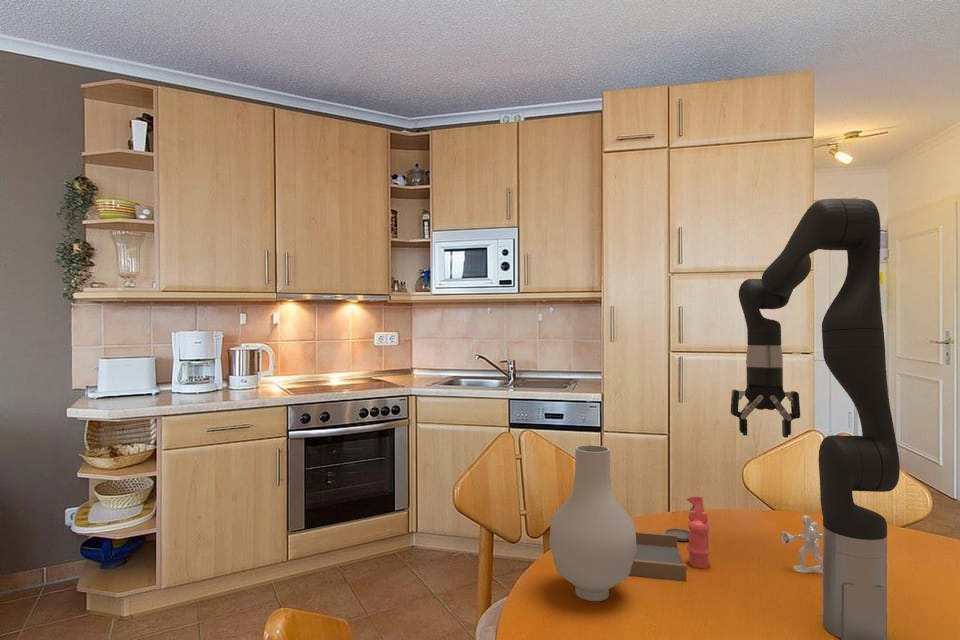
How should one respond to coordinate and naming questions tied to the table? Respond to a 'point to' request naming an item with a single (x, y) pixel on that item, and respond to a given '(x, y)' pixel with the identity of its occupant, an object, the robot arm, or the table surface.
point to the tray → (657, 557)
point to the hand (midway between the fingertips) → (764, 436)
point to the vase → (592, 529)
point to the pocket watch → (680, 532)
